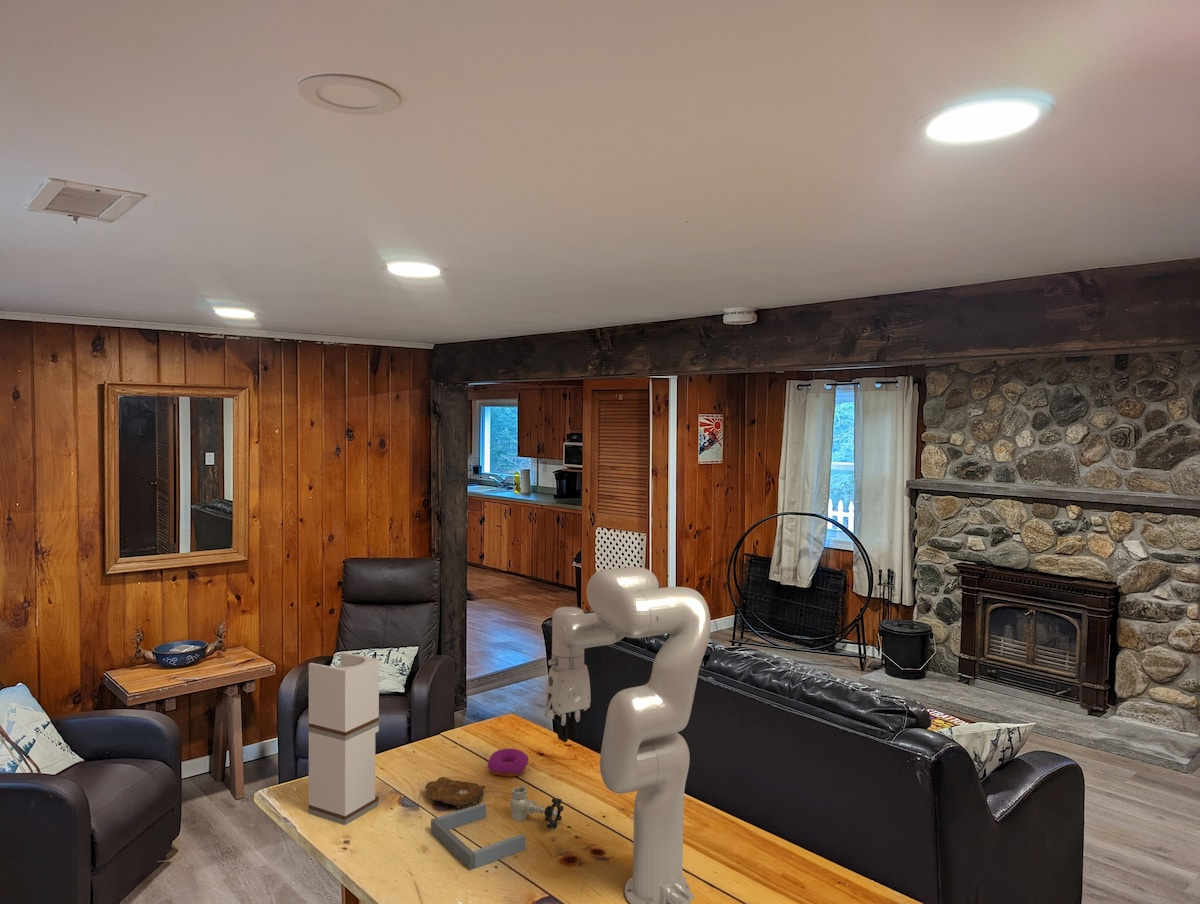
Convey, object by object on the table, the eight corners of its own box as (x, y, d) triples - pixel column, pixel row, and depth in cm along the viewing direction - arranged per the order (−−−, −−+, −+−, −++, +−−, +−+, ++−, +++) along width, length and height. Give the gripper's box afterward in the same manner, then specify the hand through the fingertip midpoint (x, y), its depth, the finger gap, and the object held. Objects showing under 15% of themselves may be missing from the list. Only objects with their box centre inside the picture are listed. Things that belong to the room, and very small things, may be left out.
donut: (482, 776, 203) (482, 759, 203) (497, 760, 213) (497, 744, 213) (520, 781, 200) (520, 763, 200) (533, 765, 210) (533, 748, 210)
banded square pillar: (378, 805, 187) (378, 659, 186) (345, 825, 177) (345, 671, 176) (343, 794, 192) (343, 652, 191) (308, 813, 182) (308, 663, 181)
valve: (503, 821, 180) (548, 834, 174) (503, 793, 179) (548, 805, 174) (519, 809, 186) (563, 821, 180) (520, 781, 185) (563, 793, 180)
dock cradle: (525, 849, 168) (525, 836, 167) (469, 870, 160) (470, 855, 159) (483, 815, 182) (483, 802, 182) (430, 832, 174) (430, 819, 174)
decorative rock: (412, 807, 187) (469, 819, 183) (412, 790, 187) (469, 802, 182) (435, 784, 198) (490, 794, 194) (435, 768, 198) (490, 778, 193)
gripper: (548, 671, 176) (547, 752, 177) (604, 659, 186) (603, 736, 186) (530, 662, 182) (530, 741, 183) (586, 651, 192) (585, 726, 192)
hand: (567, 738), depth 185 cm, fingers closed
